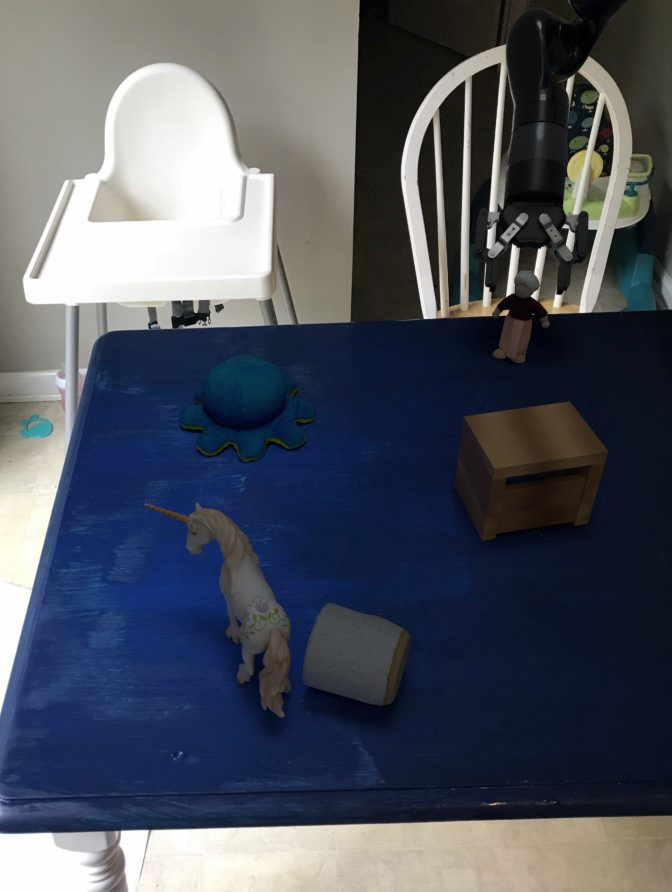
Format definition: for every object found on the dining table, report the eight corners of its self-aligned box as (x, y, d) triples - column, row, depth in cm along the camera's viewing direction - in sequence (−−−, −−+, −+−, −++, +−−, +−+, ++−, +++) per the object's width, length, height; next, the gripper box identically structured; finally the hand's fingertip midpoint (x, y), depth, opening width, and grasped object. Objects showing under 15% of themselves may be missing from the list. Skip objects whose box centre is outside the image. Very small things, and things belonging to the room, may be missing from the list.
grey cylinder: (390, 727, 72) (395, 671, 67) (301, 702, 74) (299, 646, 69) (418, 637, 79) (424, 581, 74) (336, 616, 81) (337, 561, 76)
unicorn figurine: (223, 570, 87) (210, 471, 78) (340, 694, 75) (341, 594, 66) (163, 602, 84) (143, 503, 75) (275, 736, 72) (267, 637, 63)
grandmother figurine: (483, 360, 114) (496, 274, 106) (487, 346, 117) (500, 261, 109) (540, 368, 113) (558, 281, 104) (543, 353, 115) (560, 268, 107)
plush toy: (162, 452, 102) (153, 395, 96) (206, 376, 114) (199, 322, 108) (295, 469, 98) (293, 411, 93) (325, 390, 110) (324, 334, 105)
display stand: (553, 472, 96) (570, 401, 90) (588, 524, 90) (608, 451, 83) (454, 487, 95) (463, 416, 88) (482, 541, 88) (494, 468, 82)
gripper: (586, 183, 111) (576, 303, 110) (477, 180, 113) (467, 298, 112) (599, 157, 103) (589, 285, 103) (482, 154, 105) (472, 280, 105)
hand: (525, 291), depth 108 cm, fingers open, 8 cm apart
